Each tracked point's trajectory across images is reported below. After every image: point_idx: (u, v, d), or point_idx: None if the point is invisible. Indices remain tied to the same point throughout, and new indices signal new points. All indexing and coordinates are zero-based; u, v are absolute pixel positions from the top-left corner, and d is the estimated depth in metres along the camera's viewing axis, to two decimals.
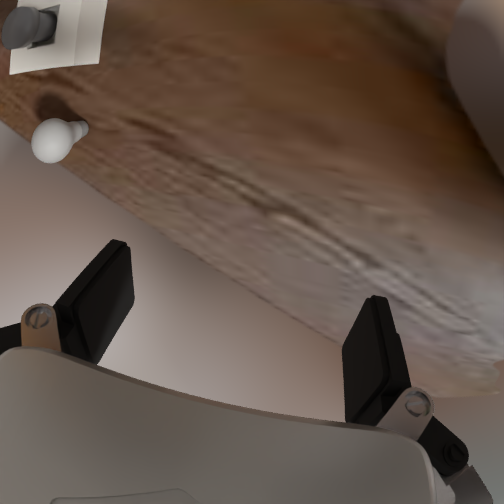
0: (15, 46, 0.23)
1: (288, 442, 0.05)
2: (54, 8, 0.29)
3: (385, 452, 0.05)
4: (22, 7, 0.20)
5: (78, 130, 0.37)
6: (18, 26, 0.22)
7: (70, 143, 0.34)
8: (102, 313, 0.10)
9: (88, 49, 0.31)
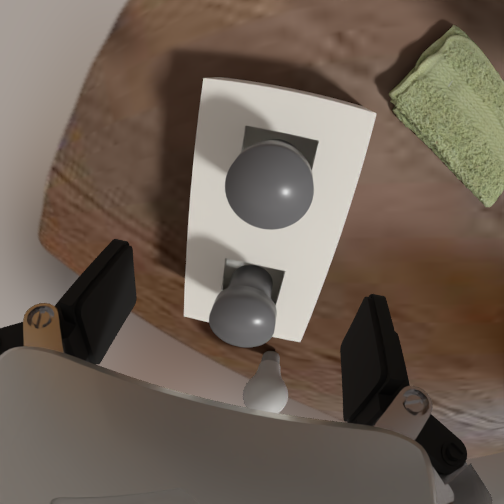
0: (244, 345, 0.29)
1: (288, 442, 0.05)
2: None
3: (385, 452, 0.05)
4: (258, 306, 0.27)
5: None
6: (250, 327, 0.28)
7: None
8: (104, 312, 0.10)
9: None
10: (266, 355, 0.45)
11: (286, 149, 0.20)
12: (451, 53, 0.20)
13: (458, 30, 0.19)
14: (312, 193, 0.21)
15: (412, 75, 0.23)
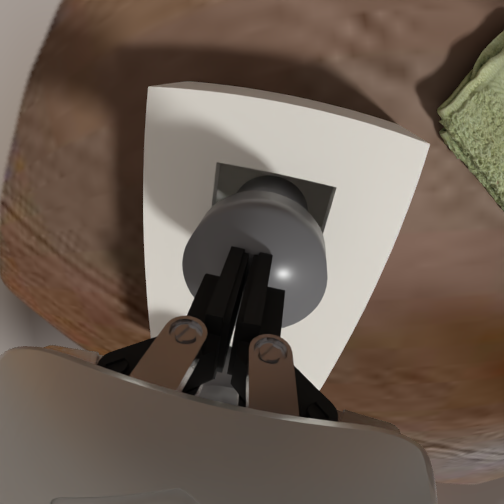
0: None
1: (288, 443, 0.05)
2: None
3: (385, 452, 0.05)
4: None
5: None
6: None
7: None
8: (233, 320, 0.11)
9: None
10: None
11: (282, 214, 0.11)
12: None
13: None
14: (324, 285, 0.12)
15: (470, 84, 0.14)
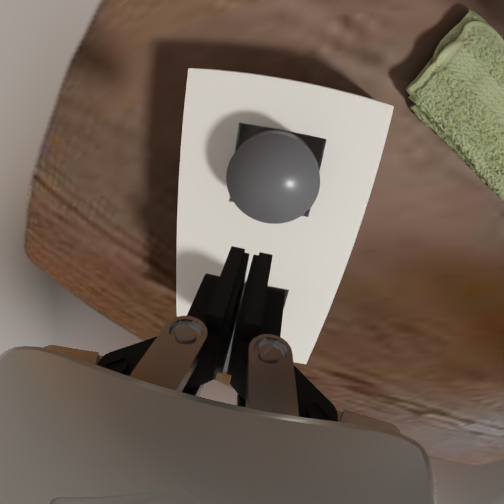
0: None
1: (288, 442, 0.05)
2: None
3: (385, 452, 0.05)
4: None
5: None
6: None
7: None
8: (233, 321, 0.11)
9: None
10: None
11: (290, 138, 0.18)
12: (471, 41, 0.16)
13: (476, 16, 0.15)
14: (318, 184, 0.19)
15: (431, 67, 0.19)
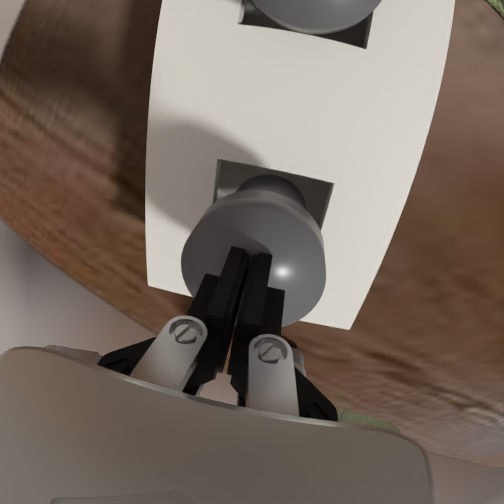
0: None
1: (288, 442, 0.05)
2: None
3: (385, 452, 0.05)
4: (292, 225, 0.11)
5: None
6: (271, 281, 0.13)
7: None
8: (233, 321, 0.11)
9: None
10: None
11: None
12: None
13: None
14: None
15: None
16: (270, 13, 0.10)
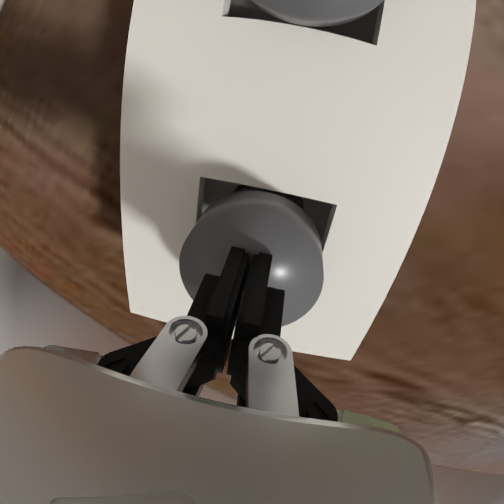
0: None
1: (288, 442, 0.05)
2: None
3: (385, 452, 0.05)
4: (289, 225, 0.11)
5: None
6: (269, 282, 0.13)
7: None
8: (233, 321, 0.11)
9: None
10: None
11: None
12: None
13: None
14: None
15: None
16: (259, 0, 0.07)
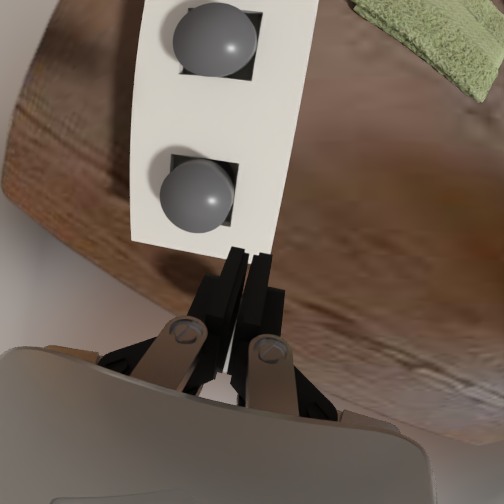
0: (199, 231, 0.27)
1: (288, 442, 0.05)
2: None
3: (385, 452, 0.05)
4: (209, 171, 0.24)
5: None
6: (203, 201, 0.25)
7: None
8: (233, 321, 0.11)
9: None
10: None
11: None
12: None
13: None
14: (253, 36, 0.18)
15: None
16: (190, 71, 0.20)
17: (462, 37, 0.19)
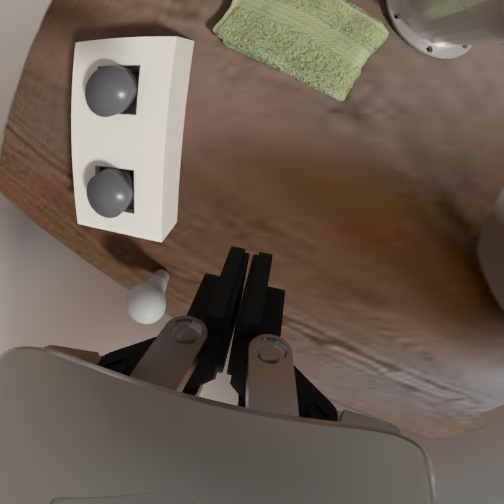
0: (110, 216, 0.37)
1: (288, 442, 0.05)
2: None
3: (385, 452, 0.05)
4: (111, 177, 0.34)
5: (165, 286, 0.48)
6: (110, 197, 0.36)
7: (165, 307, 0.45)
8: (233, 321, 0.11)
9: (170, 218, 0.42)
10: (156, 272, 0.50)
11: (113, 66, 0.27)
12: None
13: None
14: (127, 88, 0.28)
15: (228, 11, 0.28)
16: (95, 113, 0.30)
17: (314, 47, 0.29)
